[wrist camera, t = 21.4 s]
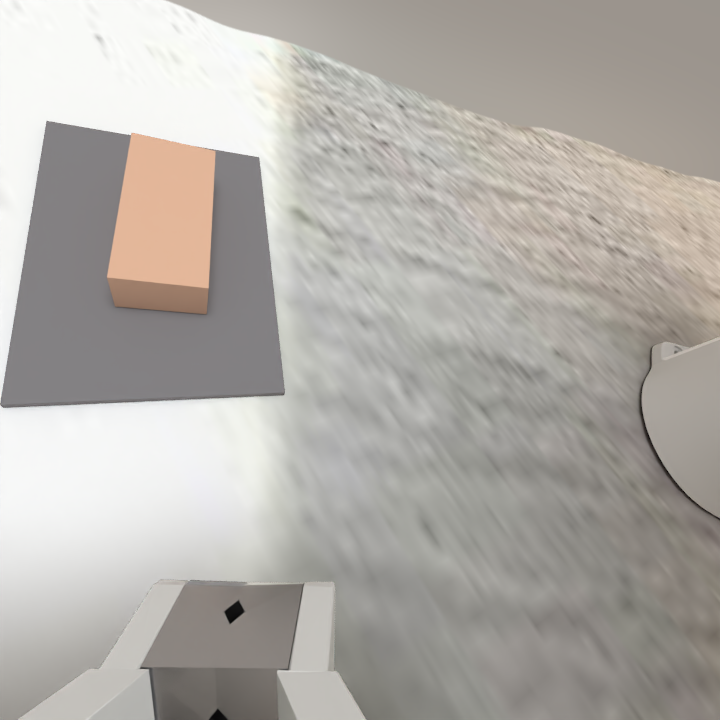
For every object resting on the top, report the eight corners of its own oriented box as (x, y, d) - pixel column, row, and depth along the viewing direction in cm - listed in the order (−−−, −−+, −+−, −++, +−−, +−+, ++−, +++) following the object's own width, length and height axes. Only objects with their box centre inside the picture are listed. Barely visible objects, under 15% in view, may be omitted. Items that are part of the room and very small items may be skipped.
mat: (258, 161, 34) (259, 157, 33) (283, 394, 26) (284, 392, 26) (48, 126, 28) (46, 120, 28) (3, 407, 21) (0, 404, 20)
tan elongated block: (206, 315, 26) (213, 185, 31) (208, 288, 24) (215, 151, 28) (115, 307, 24) (136, 170, 29) (106, 277, 22) (131, 132, 26)
